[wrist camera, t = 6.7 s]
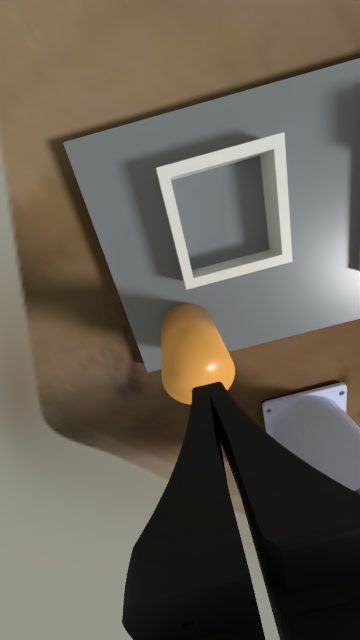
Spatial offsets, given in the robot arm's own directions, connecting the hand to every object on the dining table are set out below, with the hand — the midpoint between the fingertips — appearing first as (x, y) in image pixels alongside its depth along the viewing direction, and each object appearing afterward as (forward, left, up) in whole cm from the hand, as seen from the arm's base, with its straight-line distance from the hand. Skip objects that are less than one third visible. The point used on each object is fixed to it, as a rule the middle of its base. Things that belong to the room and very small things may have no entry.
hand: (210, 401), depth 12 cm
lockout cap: (0, 0, -8) cm, 8 cm away
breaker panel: (+5, -8, -9) cm, 13 cm away
